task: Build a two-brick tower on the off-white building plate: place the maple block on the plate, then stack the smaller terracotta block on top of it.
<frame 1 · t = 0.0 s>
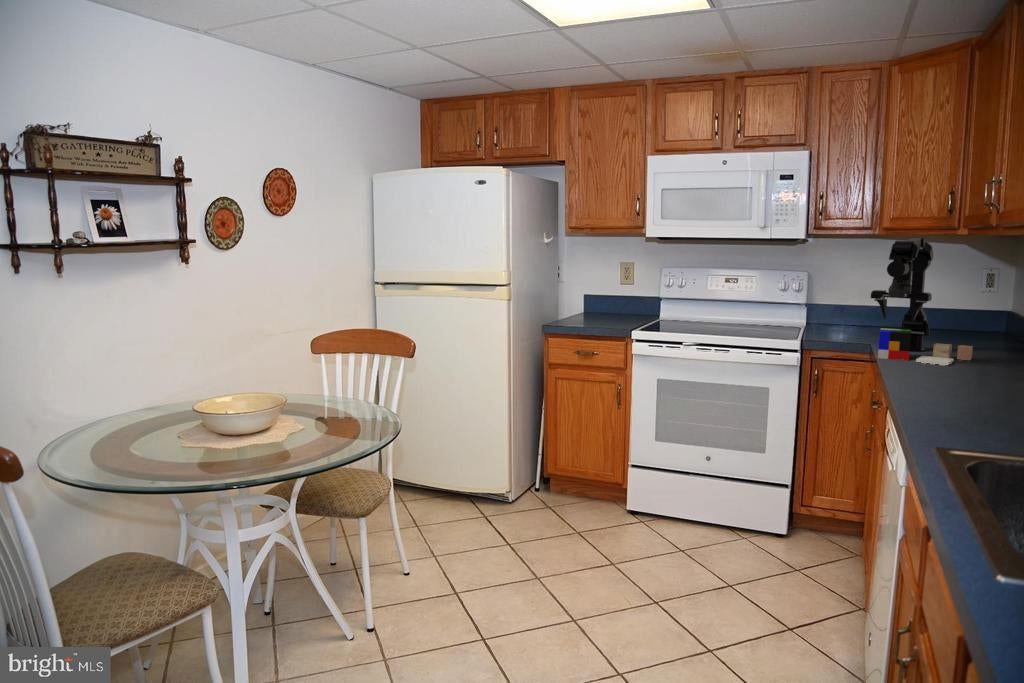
hand: (898, 319, 262), 15 cm above the counter, tool pointing down, fingers open, 9 cm apart
puzzle toy: (893, 357, 269), on the counter
terracotta brick: (964, 360, 264), on the counter
maple brick: (941, 358, 268), on the counter
building plate: (934, 362, 259), on the counter
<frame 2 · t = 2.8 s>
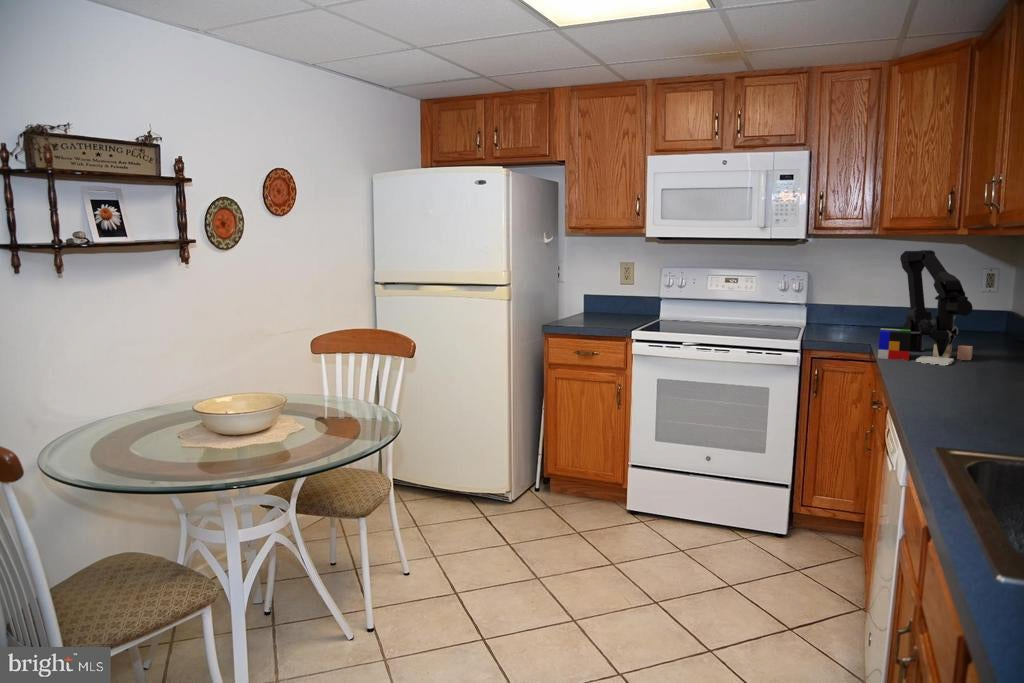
hand: (941, 355, 268), 1 cm above the counter, tool pointing down, fingers closed on maple brick, 5 cm apart
maple brick: (941, 357, 268), on the counter, touching gripper
everything else where it was.
when the fingers open (3 cm above the counter, at t = 6.6 s): maple brick stays where it is, resting on building plate.
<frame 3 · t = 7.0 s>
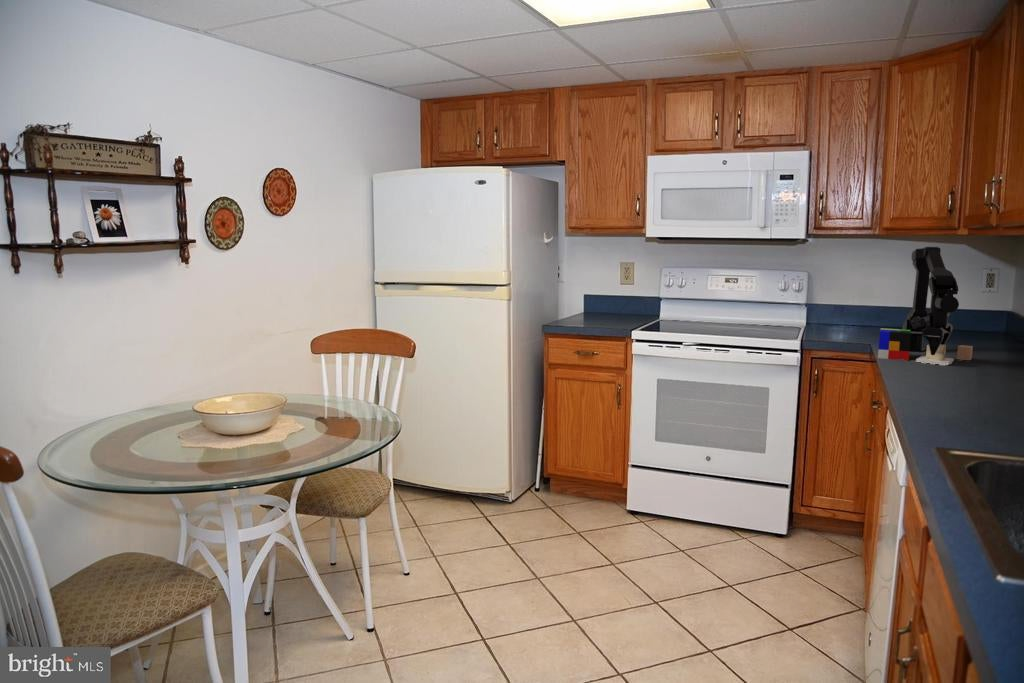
hand: (935, 353, 258), 3 cm above the counter, tool pointing down, fingers open, 9 cm apart
maple brick: (935, 358, 259), point 1 cm above the counter, touching building plate
everything else where it was.
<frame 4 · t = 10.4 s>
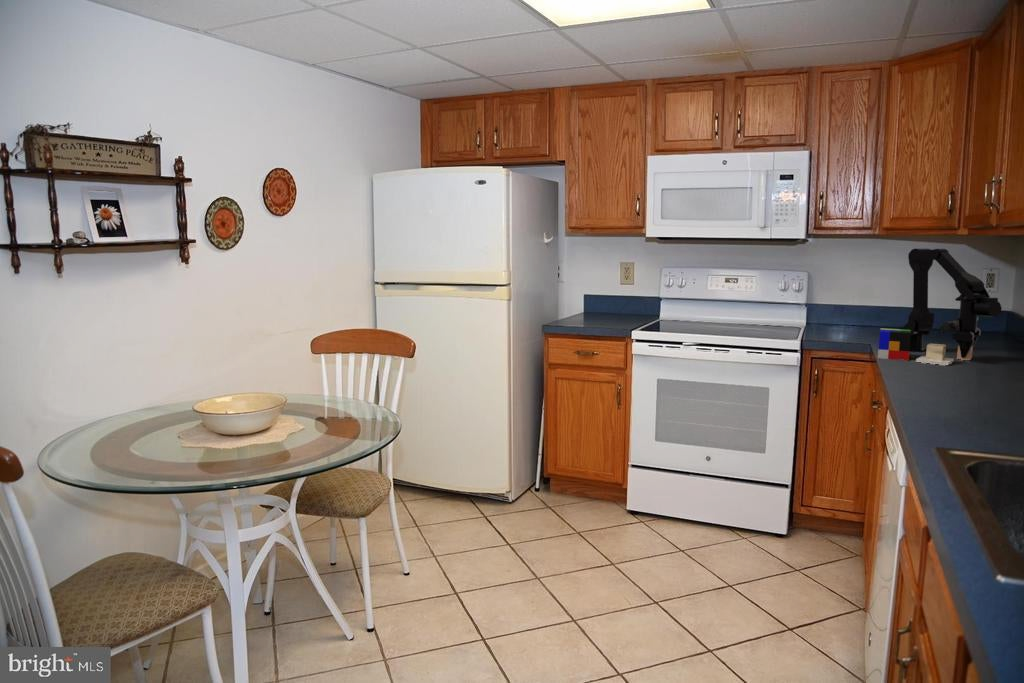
hand: (964, 356, 264), 1 cm above the counter, tool pointing down, fingers closed on terracotta brick, 4 cm apart
terracotta brick: (964, 359, 264), on the counter, touching gripper
everything else where it was.
when the fingers open (8 cm above the counter, at t = 13.5 s): terracotta brick stays where it is, resting on maple brick.
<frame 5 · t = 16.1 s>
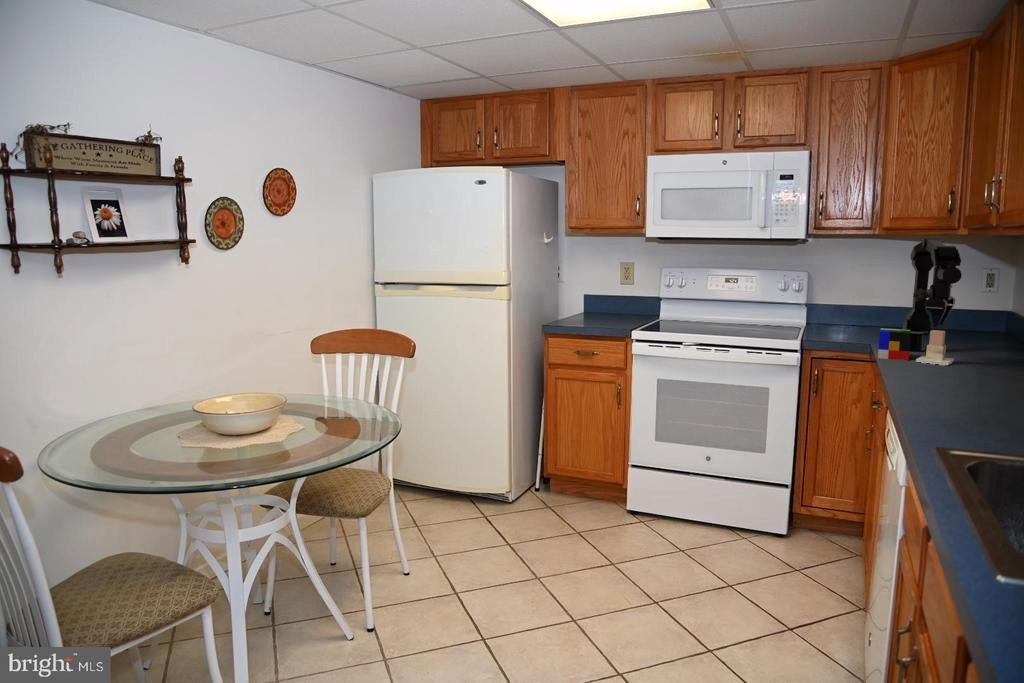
hand: (938, 326, 257), 13 cm above the counter, tool pointing down, fingers open, 9 cm apart
terracotta brick: (936, 345, 258), point 6 cm above the counter, touching maple brick
maple brick: (935, 358, 259), point 1 cm above the counter, touching building plate, terracotta brick
everything else where it was.
at the end: maple brick 0.1 cm off-centre on the building plate, point 1.2 cm above the building plate's base; terracotta brick 0.1 cm off-centre on the building plate, point 6.2 cm above the building plate's base; terracotta brick tilted 0° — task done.
